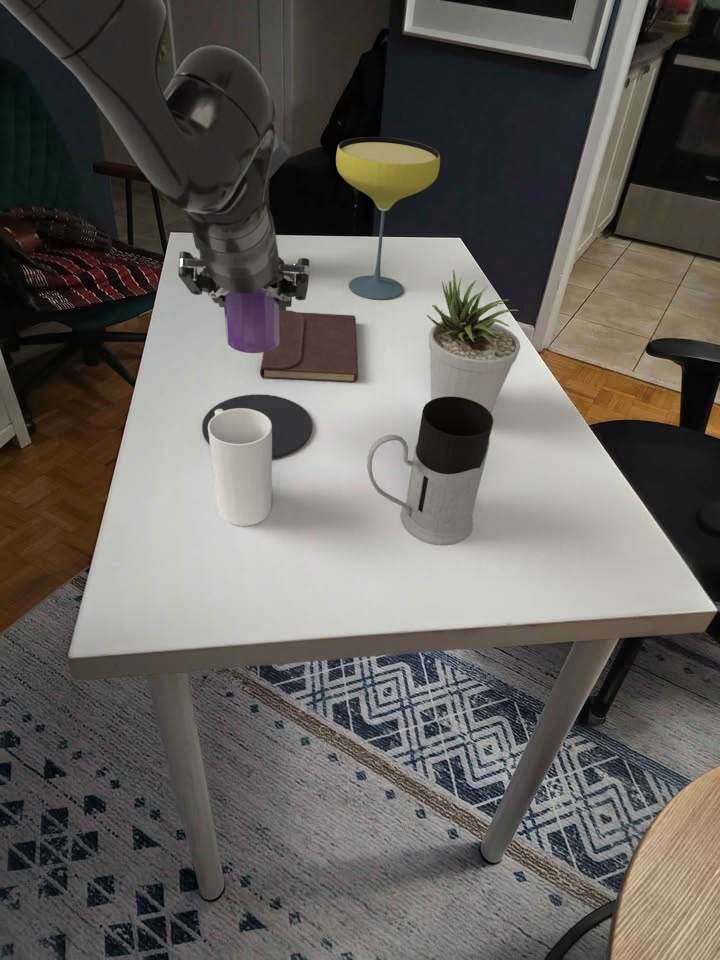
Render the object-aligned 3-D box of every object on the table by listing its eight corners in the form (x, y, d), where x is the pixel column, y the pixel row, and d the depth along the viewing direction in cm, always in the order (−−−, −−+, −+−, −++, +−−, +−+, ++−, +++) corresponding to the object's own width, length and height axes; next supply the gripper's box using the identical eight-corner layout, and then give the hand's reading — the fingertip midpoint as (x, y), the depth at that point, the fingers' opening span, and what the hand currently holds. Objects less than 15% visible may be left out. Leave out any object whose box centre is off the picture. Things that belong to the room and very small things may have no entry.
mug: (284, 515, 76) (283, 433, 68) (232, 536, 73) (225, 452, 65) (244, 468, 82) (240, 388, 75) (195, 485, 79) (185, 403, 71)
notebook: (355, 323, 115) (356, 313, 114) (357, 382, 100) (358, 371, 99) (270, 319, 114) (270, 308, 113) (260, 378, 99) (259, 366, 98)
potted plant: (475, 378, 104) (502, 255, 91) (517, 427, 94) (554, 296, 81) (403, 386, 100) (420, 260, 87) (438, 438, 90) (463, 304, 77)
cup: (233, 356, 76) (229, 283, 71) (221, 331, 81) (216, 260, 75) (286, 349, 78) (286, 278, 73) (272, 325, 83) (270, 256, 77)
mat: (215, 469, 82) (214, 466, 81) (193, 405, 92) (192, 402, 92) (327, 449, 87) (327, 446, 86) (294, 390, 97) (294, 388, 97)
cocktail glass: (341, 264, 135) (349, 132, 119) (427, 277, 133) (446, 144, 117) (320, 299, 121) (325, 155, 105) (414, 314, 119) (434, 170, 103)
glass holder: (486, 536, 76) (515, 433, 66) (374, 562, 72) (387, 455, 62) (452, 489, 82) (474, 388, 72) (347, 510, 78) (356, 406, 68)
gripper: (313, 205, 62) (314, 274, 79) (162, 196, 61) (195, 267, 78) (310, 281, 62) (312, 334, 78) (157, 272, 61) (191, 328, 77)
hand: (253, 301), depth 78 cm, fingers closed on cup, 6 cm apart
